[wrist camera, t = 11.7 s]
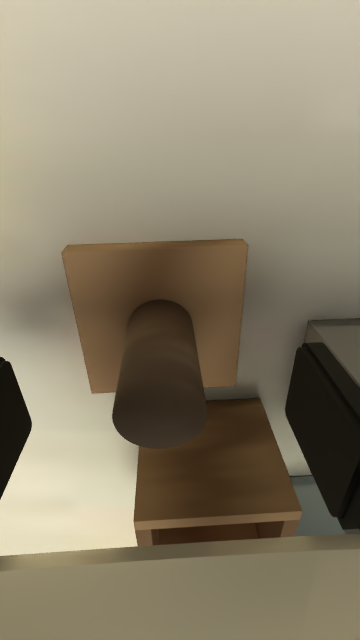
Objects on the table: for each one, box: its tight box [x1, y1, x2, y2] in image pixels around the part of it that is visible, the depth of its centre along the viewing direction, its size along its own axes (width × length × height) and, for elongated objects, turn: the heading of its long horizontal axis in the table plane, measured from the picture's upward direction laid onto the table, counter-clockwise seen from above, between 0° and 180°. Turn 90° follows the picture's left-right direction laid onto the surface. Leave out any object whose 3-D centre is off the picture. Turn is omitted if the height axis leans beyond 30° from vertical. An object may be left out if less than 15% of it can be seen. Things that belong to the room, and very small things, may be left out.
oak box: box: [134, 398, 302, 546], centre depth 16 cm, size 6×6×6 cm
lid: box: [62, 239, 248, 449], centre depth 12 cm, size 7×7×6 cm
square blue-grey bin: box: [290, 476, 346, 537], centre depth 19 cm, size 6×6×7 cm
